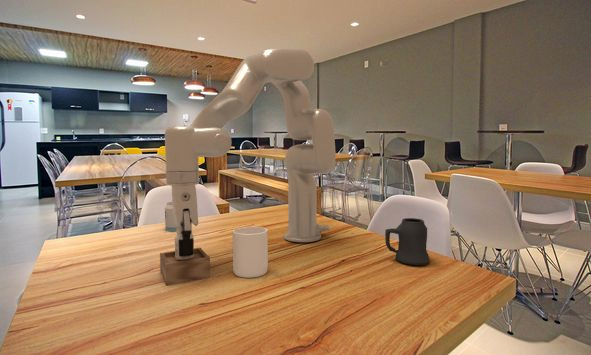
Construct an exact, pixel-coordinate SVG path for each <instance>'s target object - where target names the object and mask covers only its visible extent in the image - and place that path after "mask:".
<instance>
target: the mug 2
mask: <svg viewBox="0 0 591 355" xmlns="http://www.w3.org/2000/svg"><path fill="white" fill-rule="evenodd" d="M384 233H385V234H384V235H385V236H384V237H385V239H384V240H385V246H386V248H387V249H388V251H390V252H393V253H394V254H395V260H396V261H398V262H399V263H402V264H405V265H410V266H411V265H413V266H421V265H427V264H429V263H430V256H429V252H428V251H427V241H428V227H427V226H426V224H425V221H424V220H423V219H422V218H414V217H413V218H412V217H406V218H402V220H401V222H400V223H399V225H398V226H397V227H396V228H386V229H385V232H384ZM391 234H395V235H398V243H397V244H398V248H397V249H396V248H394V247H392V246H391V244H390V242H391V240H390V238H391Z"/></svg>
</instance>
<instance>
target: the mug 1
mask: <svg viewBox="0 0 591 355" xmlns="http://www.w3.org/2000/svg"><path fill="white" fill-rule="evenodd" d="M268 232H269V231H268V229H267V228H266V227H262V226H243V227H241V226H240V227H238V228H234V229H233V230H232V271H233V273H234V275H235V276H237V277H240V278H242V279H243V278H245V279H250V278H251V279H252V278H258V277H262V276H264V275H265V274H266V273H267V272H268V269H269V268H268V267H269V265H268V264H269V253H268V252H269V251H268V250H269V249H268V248H269V247H268V245H269V244H268V242H269V241H268V238H269V237H268Z"/></svg>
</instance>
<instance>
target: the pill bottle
mask: <svg viewBox="0 0 591 355" xmlns="http://www.w3.org/2000/svg"><path fill="white" fill-rule="evenodd" d="M181 226H184V225H181ZM183 230H184V229H182V231H183ZM175 233H178V234H176V235H175V236H174V251H175V258H176V259H179V260H186V259H190V258H192V257H193V256H194V248H195V239H194V238H195V237H194V234H192V238H193V255H190V256H182V257H180V256H179V240H180V233H179V227H176V232H175Z"/></svg>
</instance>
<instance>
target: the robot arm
mask: <svg viewBox="0 0 591 355" xmlns="http://www.w3.org/2000/svg"><path fill="white" fill-rule="evenodd" d="M314 71H315V62H314V58H313V57H312V55H311V53H309V51H306V50H305V49H302V48H268V49H264V50H261V51H258V52H255V53H252V54H249V55H247V56H246V57H245V58H244V59H243V60H242V61H241V62H240V64H239V65H238V67H237V68H236V70H235V71H234V73H233V75H232V76H231V77H230V79H229V80H228V83H226V85H225V86H224V88H223V89H222V91H221V92H220V93H218V95H217V96H215V97H214V98H213V99H212V100H211V101H210V102H209V103H208V104H207V105H206V106H205V107H204V108H203V109H202V110H201V111H200V112H199V113H198V115H197V116H196V117H195V118H194V119H193V121H192V123H191V124H190V126H184V125H183V126H181V125H180V126H176V125H175V126H170V127H167V128H166V129H165V131H164V144H165V145H164V149H165V150H164V151H165V152H164V153H165V156H164V157H165V180H166V181H165V183H166V184H165V185H166V186H171V202H172V206H173V216H174V222H175V224H176V226H177V227H179V233H180V240H179V256H180V257H182V256H190V255H193V238H192V235H193V225H194V226H195V227H197V226H198V225H199V216H198V215H199V212H198V198H197V196H198V195H197V188H196V185H200V170H199V169H200V167H199V166H200V165H199V162H200V161H199V158H219V157H222V156H225V155H226V154H227V153H228V152H229V151H230V150H231V148H232V137H231V135H230V133H228V131H226V130H225V129H223V127H224V126H225V125H227V124H228V123H229V122H232V121H233V120H235V119H237V118H239V117H241V116H243V115H244V114H245V113H247V112H249V110H250V109H251V107H252V105H253V104H254V102H255V100H256V99H257V97H258V95H259V93H260V92H261V90H262V88H263V87H265V84H268V83H271V84H272V85H273V86H274V87H276V88H277V90H278V91H279V93H280V94H281V96H282V98H283V103H284V112H285V122H286V123H285V124H286V130H287V135H288V137H289V138H290V139H292V140H295V141H312V143H303V144H295V145H292V146H291V147H289V148H288V149H287V150H286V152H285V156H284V162H285V163H284V164H285V167H286V168H285V169H286V174H287V183H288V184H287V186H288V188H287V189H288V191H287V193H288V194H287V195H288V198H287V200H288V201H287V202H288V203H287V204H288V209H287V210H288V215H287V217H288V225H287V226H288V227H287V228H288V231H287V232H285V233H284V234H283V239H284V240H287V241H289V242H292V243H293V242H294V243H312V242H316V241H317V242H318V241H319V240H321V239H322V233H321V232H325V231H326V232H327V231H328V232H329V231H330V226H329V224H325V225H324V224H323V225H322V224H318V223H317V217H318V216H317V210H318V207H317V205H318V204H317V194H318V193H317V192H318V191H317V189H318V187H317V182H316V179H315V176H314V175H313V174H317V175H319V174H322V175H324V174H328V173H330V172H331V171H333V170H334V168H335V165H336V160H337V158H336V157H337V156H336V154H337V153H336V143H335V142H336V141H335V140H336V139H335V138H336V137H335V126H334V120H333V118H332V116H331V114H330V113H329V112H328V111H327V110H325V109H322V108H313V109H312V104H311V98H310V97H311V96H310V92H309V89H308V88H307V86H306V85H305V84H304V83H303V81H305V80H308V79H309V78H310V77H311V76H312V74H313V73H314ZM181 225H184V226H181ZM182 229H184V230H183V231H182ZM176 233H177V232H176ZM176 235H178V233H177V234H176Z"/></svg>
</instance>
